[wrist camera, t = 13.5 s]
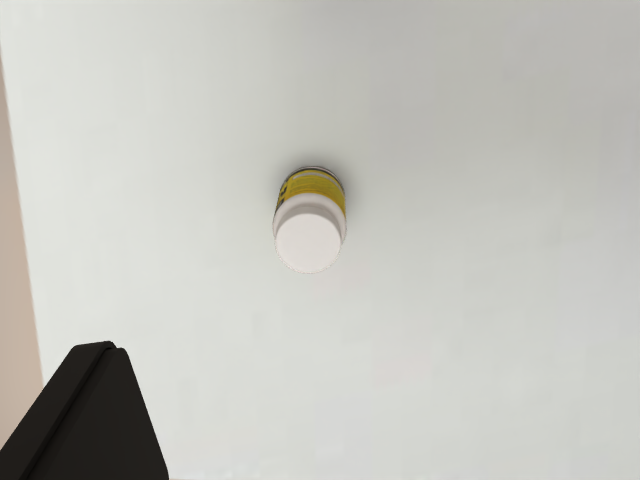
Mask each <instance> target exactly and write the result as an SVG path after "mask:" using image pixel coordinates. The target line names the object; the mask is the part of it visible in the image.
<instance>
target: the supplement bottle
mask: <svg viewBox="0 0 640 480" xmlns="http://www.w3.org/2000/svg"><path fill="white" fill-rule="evenodd" d="M346 230H347V228H346V209H345V193H344V189H343V187H342V185H341V183H340V181H339V180H338V178H337V177H336V176H335V175H334V174H332V173H331V172H329V171H328V170H325V169H323V168H319V167H305V168H301V169H299V170H296V171H295V172H293V173H292V174H290V175H289V176H288V177H287V179H286V180H285V181H284V183H283V185H282V187H281V190H280V193H279V198H278V202H277V206H276V211H275V215H274V219H273V235H274V238H275V247H276V251H277V254H278V256H279V258H280V259H281V261H282V262H283V263H284V264H285V265H286V266H287V267H289V268H290V269H292V270H294V271H297V272H300V273H316V272H320V271H323V270H325V269H326V268H328V267H329V266H331V265H332V264H333V263H334V262H335V260H336V259H337V257H338V255H339V253H340V250H341V246H342V244H343V242H344V240H345V237H346Z"/></svg>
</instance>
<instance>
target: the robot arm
mask: <svg viewBox="0 0 640 480" xmlns="http://www.w3.org/2000/svg"><path fill="white" fill-rule="evenodd" d="M0 480H169V475H168V470H167V467H166V464H165V461H164V458H163V455H162V452H161V449H160V446H159V443H158V441H157V438H156V435H155V432H154V429H153V426H152V423H151V420H150V417H149V414H148V411H147V408H146V406H145V403H144V400H143V397H142V394H141V391H140V388H139V385H138V382H137V379H136V376H135V374H134V371H133V368H132V365H131V362H130V359H129V356H128V354H127V352H126V350H125V349H123V348H116V346H115V345H114V343H113V342H111V341H103V342H96V343H89V344H81V345H76V346H74V347H73V348H72V349H71V350H70V352H69V353H68V355H67V356H66V357H65V359H64V360H63V362H62V363H61V365H60V366H59V367H58V369H57V370H56V372H55V373H54V375H53V376H52V377H51V379H50V380H49V382H48V383H47V385H46V386H45V387H44V389H43V390H42V392H41V393H40V395H39V396H38V397H37V399H36V400H35V402H34V403H33V405H32V406H31V407H30V409H29V410H28V412H27V413H26V415H25V416H24V418H23V419H22V420H21V422H20V423H19V425H18V426H17V428H16V429H15V430H14V432H13V433H12V435H11V436H10V438H9V439H8V440H7V442H6V443H5V445H4V446H3V448H2V449H1V450H0Z"/></svg>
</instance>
